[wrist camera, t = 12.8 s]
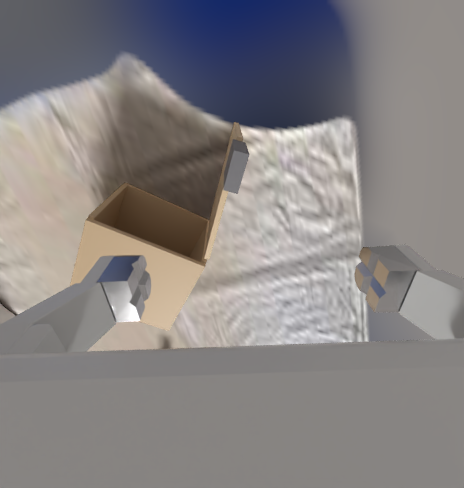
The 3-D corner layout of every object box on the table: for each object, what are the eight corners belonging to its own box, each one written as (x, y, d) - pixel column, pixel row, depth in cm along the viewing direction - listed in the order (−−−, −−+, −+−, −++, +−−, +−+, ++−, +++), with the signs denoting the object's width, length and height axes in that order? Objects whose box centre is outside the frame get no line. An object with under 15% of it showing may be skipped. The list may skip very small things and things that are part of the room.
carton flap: (232, 121, 33) (235, 146, 19) (240, 124, 33) (250, 150, 19) (208, 215, 40) (197, 286, 26) (215, 217, 40) (208, 288, 26)
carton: (104, 249, 43) (66, 298, 33) (125, 182, 37) (86, 217, 27) (181, 277, 47) (168, 330, 37) (211, 220, 41) (206, 265, 31)
